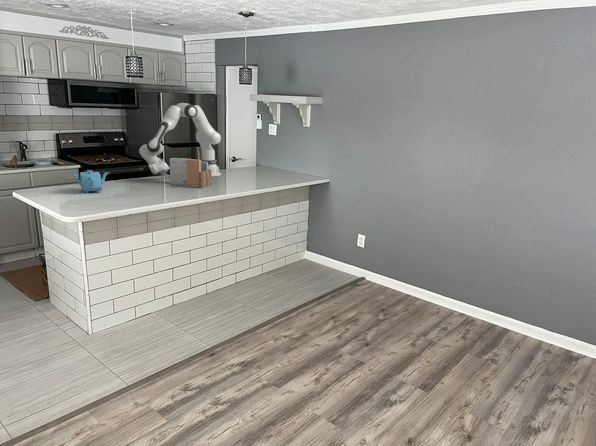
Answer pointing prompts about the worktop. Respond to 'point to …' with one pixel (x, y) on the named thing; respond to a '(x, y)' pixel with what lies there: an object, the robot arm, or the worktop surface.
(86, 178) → the teakettle
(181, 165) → the hard drive box
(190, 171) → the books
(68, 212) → the worktop surface
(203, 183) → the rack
